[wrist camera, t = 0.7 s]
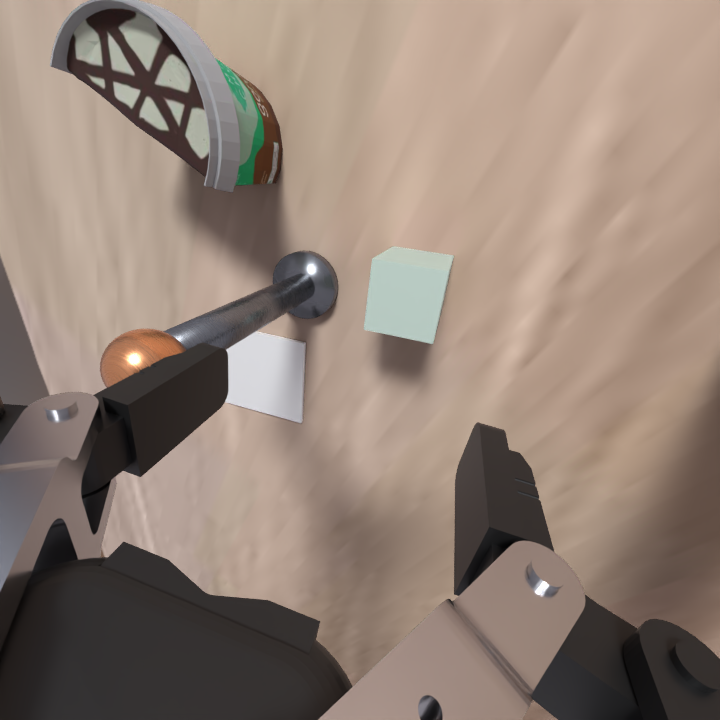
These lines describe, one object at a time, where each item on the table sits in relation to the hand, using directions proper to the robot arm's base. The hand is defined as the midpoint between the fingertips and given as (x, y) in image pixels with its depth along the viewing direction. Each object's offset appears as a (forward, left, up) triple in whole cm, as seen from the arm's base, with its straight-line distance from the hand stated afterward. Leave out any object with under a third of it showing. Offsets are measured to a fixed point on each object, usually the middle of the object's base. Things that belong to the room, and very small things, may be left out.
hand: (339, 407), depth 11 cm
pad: (+15, +13, -21) cm, 29 cm away
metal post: (+10, +2, -21) cm, 23 cm away
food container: (+16, -11, -21) cm, 29 cm away
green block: (0, 0, -21) cm, 21 cm away
